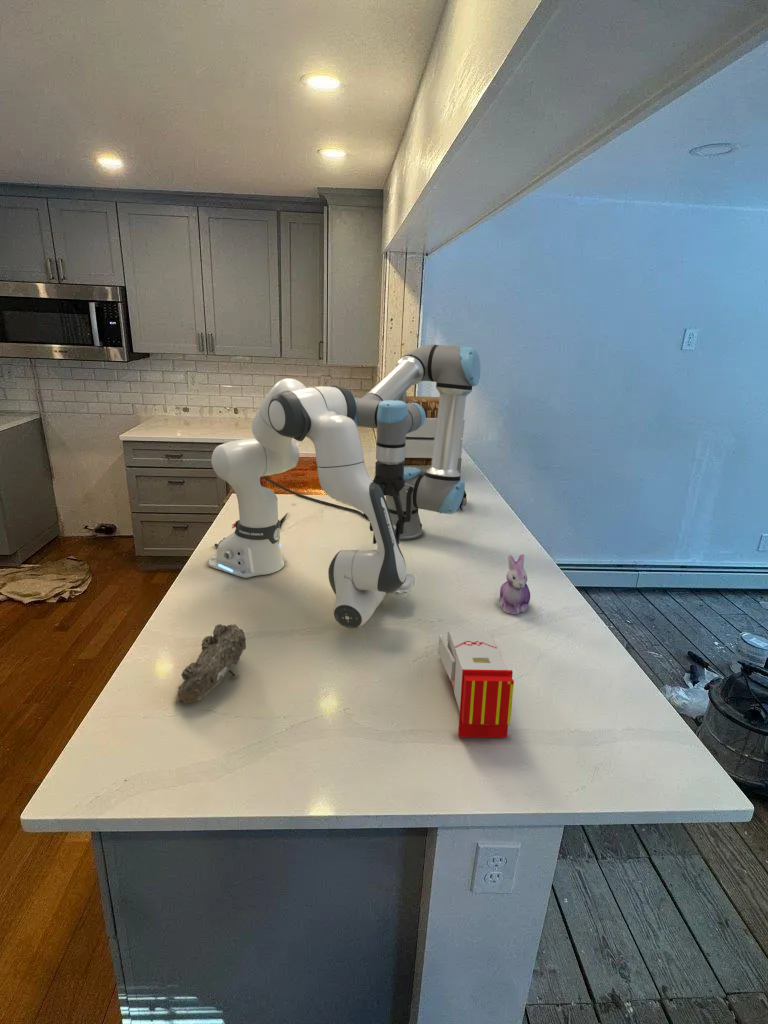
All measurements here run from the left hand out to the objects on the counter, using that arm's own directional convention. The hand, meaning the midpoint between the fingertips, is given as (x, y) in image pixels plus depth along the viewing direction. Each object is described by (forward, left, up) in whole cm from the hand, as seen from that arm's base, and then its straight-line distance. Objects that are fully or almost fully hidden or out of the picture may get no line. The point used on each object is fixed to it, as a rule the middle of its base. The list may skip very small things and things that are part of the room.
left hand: (385, 567), depth 159 cm
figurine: (+36, +3, -6) cm, 37 cm away
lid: (0, -1, +12) cm, 12 cm away
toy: (+31, -38, -6) cm, 49 cm away
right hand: (0, -1, +8) cm, 8 cm away
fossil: (-21, -52, -6) cm, 56 cm away
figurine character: (+5, +79, -6) cm, 79 cm away
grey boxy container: (-21, +120, -6) cm, 122 cm away
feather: (-51, +40, -6) cm, 65 cm away
